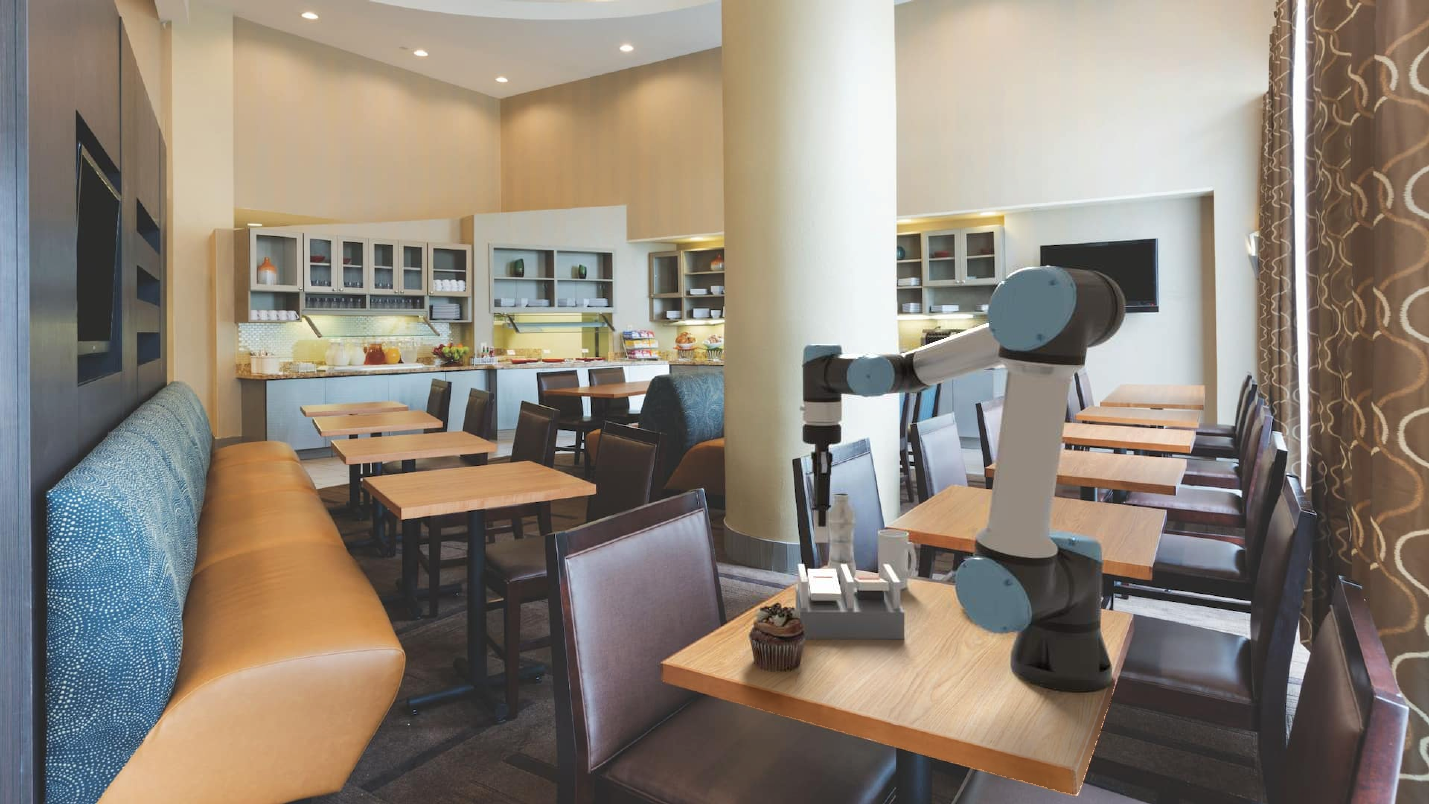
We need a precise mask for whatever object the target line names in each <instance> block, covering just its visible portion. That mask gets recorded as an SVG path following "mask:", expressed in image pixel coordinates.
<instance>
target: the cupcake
mask: <svg viewBox="0 0 1429 804" xmlns="http://www.w3.org/2000/svg"><path fill="white" fill-rule="evenodd" d="M755 616H756V619H754V621H753V627H752V628H751V630H750V631H749V632H748V638H749V642H750V647H751V651H752V656H753V663H754V665H756V667H757V668H759V669H763V670H766V671H769V672H776V671H778V672H779V673H780V672H781V673H782V672H788V671H787V670H789V671H793V670H795V669H797V668H798V667H799V666H800V665H801V660H802V655H803V649H804V644H805V641H806V638H805V633H804V628H803V624H802V621H801V620H800V618H799V610H798V609H796V607H794V606H792V607H791V606H788V607H787V606H784V607H783V608H782V604H781V603H780V602H776V603H774V604H773V605H772V606H768V605H765V606H763V607H760V608H759V610H758V611H757V612H755Z"/></svg>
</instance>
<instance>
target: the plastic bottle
mask: <svg viewBox="0 0 1429 804" xmlns="http://www.w3.org/2000/svg"><path fill="white" fill-rule="evenodd" d="M832 503H834V504H833V505H832V506H831V507H830V509H829V532H828V536H829V552H828V553H829V556H828V563H827V568H826V569H835V570H836V574H837V579H838V582H840V564H847V567H848V569H849V571H850V574H851V576H852V578H856V577H855V576H856V573H857V567H856V561H855V553H854V533H855V526H856V514H855V513H854V511H853V509H852V507H851V506H850V503H851V499H850V494H849V493H846V492H836V493H833V500H832Z"/></svg>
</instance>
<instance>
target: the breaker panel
mask: <svg viewBox="0 0 1429 804" xmlns="http://www.w3.org/2000/svg"><path fill="white" fill-rule="evenodd" d="M883 580H885V581H887V582H889V591H878V590H858V589H857V588H855V587H854V581H853V578H852V576H851V574H850V571H849V569H848V567H847V564H840V581H839V582H840V584H839V588H840V592H841V601H834V600H811V596H810V589H809V582H808V574H807V572H806V567H805V564H804V563H797V585H795V609H798V610H799V618H800V620H801V621H802V624H803V628H804V633H805V639H827V640H828V639H839V640H840V639H842V640H843V639H845V640H846V639H847V640H849V639H850V640H851V639H852V640H857V639H858V640H859V639H860V640H863V639H865V640H905V611H904V609H903V607H902V605H901V589H900V581H899V579H898V578H897V576H896V574H895V573H894V571H893V570H892V568H891V566H890V565H889V564H883Z"/></svg>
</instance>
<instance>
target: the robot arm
mask: <svg viewBox="0 0 1429 804" xmlns="http://www.w3.org/2000/svg"><path fill="white" fill-rule="evenodd" d="M1126 308H1127V307H1126V298H1125V295H1124V293H1123V291H1122V289H1121V288H1120V286H1119V284H1117V283H1116V281H1114V280H1113V279H1112V278H1110V277H1109V276H1108V275H1107V274H1103V273H1101V272H1099V271H1096V270H1092V269H1091V270H1090V269H1078V268H1077V269H1075V268H1068V267H1067V268H1066V267H1061V266H1060V267H1059V266H1053V265H1052V266H1050V265H1046V266H1045V265H1044V266H1041V265H1040V266H1028V267H1024V268H1020V269H1018V270H1016V271H1015V270H1014V272H1012V273H1010V274H1009V275H1008V276H1007V277H1006V278H1005V279H1003V280H1002V281H1001V282H1000V283H999V284H998V285H997V286H996V288H995V289H994V291H993V292H992V295H991V296H990V300H989V303H988V307H987V315H986V318H987V323H985V324H983V325H979V326H977V327H974V328H971V329H968V330H965V331H962V332H960V333H957V334H955V335H951V336H949V337H946V338H944V339H940V340H938V341H935V342H932V343H929V344H927V345H924V346H921V347H919V348H916V349H913V350H910V351H906V352H904V353H899V354H898V353H894V354H893V353H891V354H889V353H888V354H887V353H886V354H885V353H883V354H881V353H880V354H873V353H872V354H868V353H866V354H844V353H843V348H842V346H841V345H840V344H838V343H835V344H833V343H829V344H828V343H827V344H826V343H825V344H823V343H816V344H813V343H812V344H811V343H810V344H807V345H805V346H804V347H803V348H804V349H803V354H802V355H803V356H802V364H801V367H802V403H803V405H800V406H799V411H800V412H801V411H802V421H803V422H805V423H803V425H802V441H803V443H804V444H807V445H814V451H811V452H810V459H811V461H812V463H811V470H812V474H813V498H812V500H813V506H811V510H812V511H813V514H814V515H813V523H814V524H813V541H814V543H829V511H830V509H831V508H832V505H831V503H830V499H831V495H830V494H831V475H832V467H833V466H832V463H833V461H834V458H833V454H834V453H832V451H830V445H838V444H840V443H841V442H842V425H841V424H840V422H841V421H842V417H843V413H842V412H843V408H842V407H843V403H842V402H843V401H842V395H850V396H851V395H852V396H859V397H860V396H861V397H864V398H868V397H870V398H871V397H872V398H873V397H874V398H875V397H882V396H884V395H890V394H907V393H909V394H917V393H922V392H926V391H929V390H931V389H932V388H934V386H935V385H939V384H941V383H946V382H948V381H952V380H955V379H958V378H962V377H966V376H969V375H971V374H975V373H979V372H982V371H986V370H989V369H992V368H996V367H999V366H1004V368H1005V369H1006V371H1007V373H1006V379H1005V387H1004V388H1005V389H1004V395H1003V402H1002V410H1001V411H1002V412H1001V418H1000V419H1001V420H1000V426H999V434H998V443H997V451H996V459H995V466H994V475H993V482H992V490H991V499H990V506H989V513H988V521H987V522H988V523H987V524H986V526H984V527H983V528H981V529H980V530H978V531H977V533H975V534H976V535H975V540H974V547H973V556H970V557H968V558H966V560H965V561H963V562H962V563H961V564H959V566H958V568H957V569H956V571H955V578H954V589H955V594H956V597H957V600H958V602H959V605H960V607H962V608H963V609H964V610H965V614H966V616H968V618H969V619H970V620H971V621H972V622H973V623H974V624H975V625H977V626H978V627H980V628H982V629H983V630H984V631H987V632H990V633H993V634H1002V635H1003V634H1008V633H1013V632H1014V633H1017V635H1016V637H1015V640H1014V643H1013V645H1012V648H1011V651H1010V669H1011V670H1012V672H1014V673H1015V674H1016V675H1017V676H1018V677H1020V678H1021V679H1023V680H1025V681H1028V682H1030V683H1031V684H1035V685H1037V686H1041V687H1045V688H1049V689H1053V690H1060V691H1067V692H1093V691H1099V690H1102V689H1105V688H1107V687H1108V686H1110V685H1111V683H1112V682H1113V681H1112V680H1113V665H1112V662H1111V658H1110V656H1109V652H1108V649H1107V646H1106V644H1105V641H1104V637H1103V634H1102V629H1101V627H1102V626H1101V623H1102V620H1101V619H1102V593H1103V592H1102V591H1103V586H1102V585H1103V566H1104V560H1103V550H1102V549H1103V548H1102V544H1101V543H1100V541H1098V540H1097V539H1095V538H1093V537H1092V536H1089V535H1085V534H1079V533H1075V532H1070V531H1069V532H1067V531H1062V530H1055V529H1051V522H1052V514H1053V507H1054V500H1055V494H1056V486H1057V478H1058V474H1059V473H1058V472H1059V464H1060V460H1061V459H1060V457H1061V451H1062V445H1063V435H1064V430H1065V422H1066V416H1067V407H1068V402H1069V401H1068V400H1069V395H1070V389H1071V380H1072V377H1073V376H1074V375H1075V374H1076V373H1078V372H1079V371H1081V370H1082V369H1083V368H1085V367H1086V360H1087V359H1086V358H1087V354H1088V353H1087V351H1088V349H1089V348H1094V347H1098V346H1100V345H1102V344H1104V343H1106V342H1107V341H1108V340H1110V339H1111V338H1112V337H1113V336H1115V335H1116V333H1117V332H1119V329H1121V326H1122V325H1123V322H1124V320H1125V316H1126V311H1127V309H1126Z"/></svg>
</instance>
